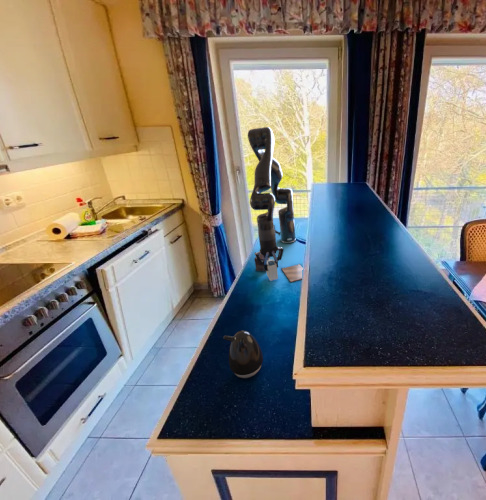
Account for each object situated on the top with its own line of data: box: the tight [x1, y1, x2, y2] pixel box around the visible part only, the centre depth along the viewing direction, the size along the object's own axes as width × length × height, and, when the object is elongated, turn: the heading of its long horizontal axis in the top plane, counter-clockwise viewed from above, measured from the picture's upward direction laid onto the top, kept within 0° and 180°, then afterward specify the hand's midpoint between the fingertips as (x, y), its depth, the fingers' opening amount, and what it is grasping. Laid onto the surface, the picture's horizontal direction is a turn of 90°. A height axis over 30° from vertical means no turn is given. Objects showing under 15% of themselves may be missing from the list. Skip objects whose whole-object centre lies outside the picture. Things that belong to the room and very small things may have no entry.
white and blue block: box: [265, 258, 279, 282], centre depth 134 cm, size 6×4×9 cm, turn 24°
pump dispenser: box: [223, 329, 264, 379], centre depth 85 cm, size 10×10×15 cm
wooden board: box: [281, 263, 304, 283], centre depth 141 cm, size 14×10×1 cm
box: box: [253, 254, 271, 272], centre depth 144 cm, size 6×6×7 cm
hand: (271, 269), depth 134 cm, fingers closed on white and blue block, 4 cm apart
